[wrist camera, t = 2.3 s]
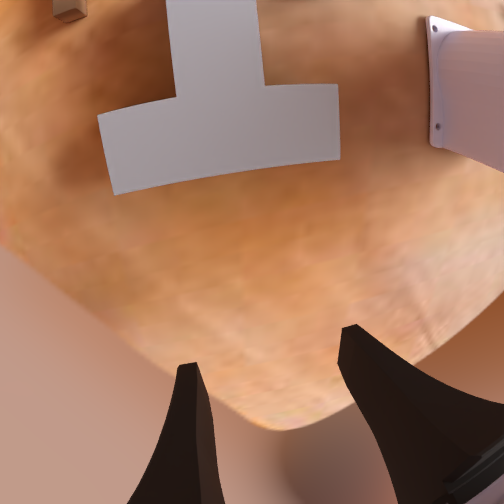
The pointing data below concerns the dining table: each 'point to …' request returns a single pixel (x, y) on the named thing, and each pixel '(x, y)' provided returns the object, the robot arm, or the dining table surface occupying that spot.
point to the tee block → (218, 107)
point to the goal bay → (69, 9)
